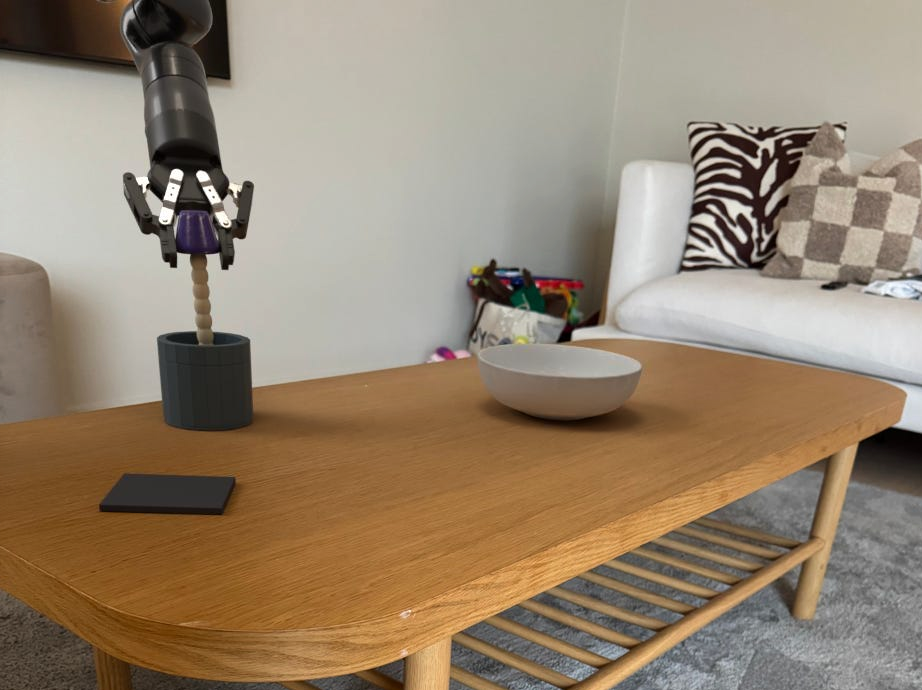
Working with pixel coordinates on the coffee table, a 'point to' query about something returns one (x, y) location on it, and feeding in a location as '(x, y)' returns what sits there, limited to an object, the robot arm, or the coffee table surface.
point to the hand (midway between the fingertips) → (200, 263)
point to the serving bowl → (558, 379)
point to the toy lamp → (198, 264)
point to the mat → (169, 494)
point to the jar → (205, 381)
